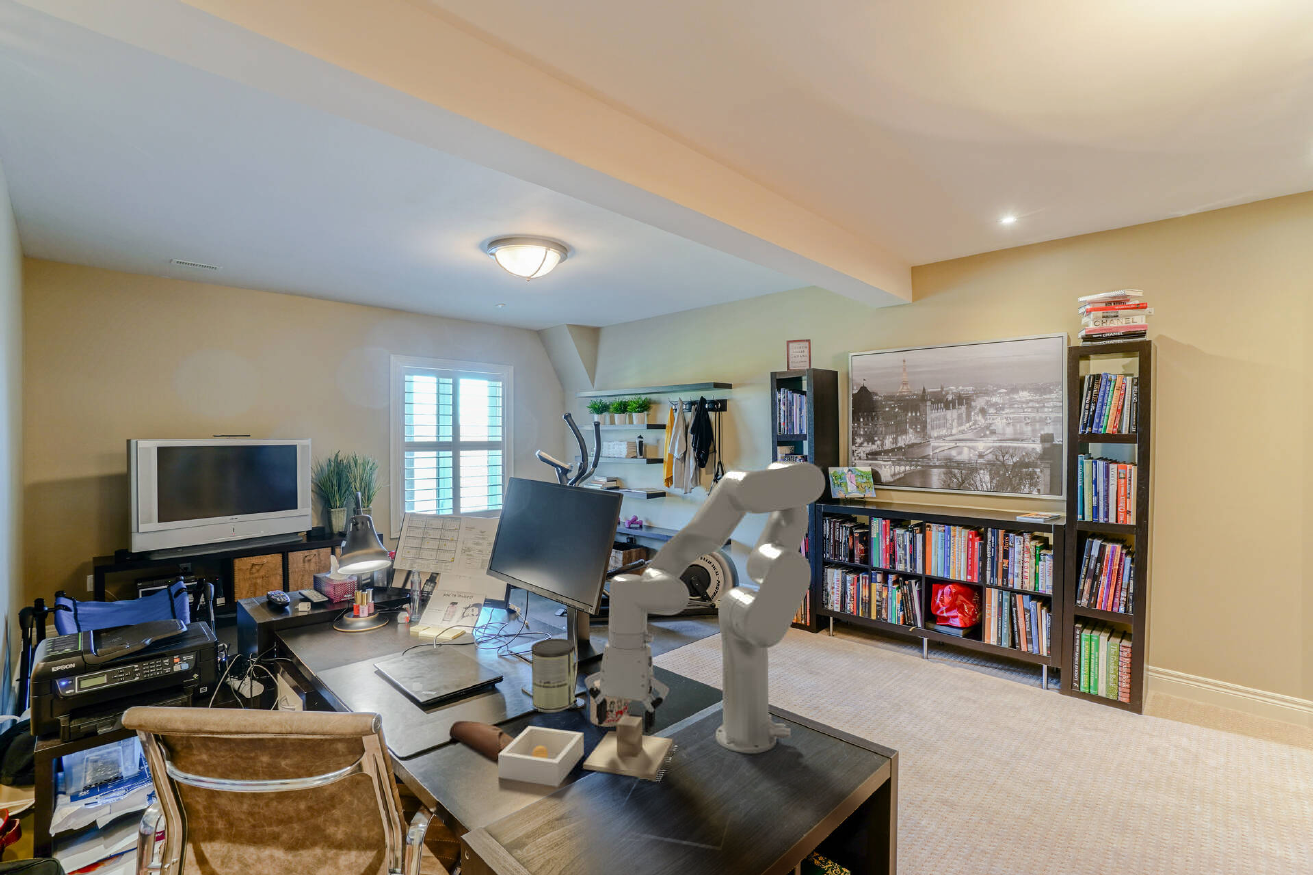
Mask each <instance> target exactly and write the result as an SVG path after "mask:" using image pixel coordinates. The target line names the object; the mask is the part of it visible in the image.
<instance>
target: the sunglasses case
mask: <svg viewBox="0 0 1313 875" xmlns="http://www.w3.org/2000/svg"><path fill="white" fill-rule="evenodd" d="M449 737H450V738H451V739H454V740H455V741H458V742H461V743H463V744H465V745H466V746H468V747H470V748H471V749H472V750H475V751H477V752H478V753H479V754H482V755H483V756H485V757H486V758H488V759H490V760H491V761H493V762H495V763H498V754H499V753H500V752H501V751H502V750H504V749H505V748H506V747H507V746H508V745H509V744H510V743H511V742H512V741H513V740H514V739H515V738H514V737H512V736H510V735H509V734H507V733H505V732H504V729H501V728H499V727H498V726H496V725H495V726H494V725H492V724H487V723H483V722H478V721H472V720H471V721H470V720H458V721H455V722H454V723H453V724H452V725H451V727H450V729H449Z"/></svg>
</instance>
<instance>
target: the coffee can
mask: <svg viewBox="0 0 1313 875" xmlns="http://www.w3.org/2000/svg"><path fill="white" fill-rule="evenodd" d="M575 645H576V644H575V642H573V640H570V639H566V638H548V639H543V640H539V641H537V642H535V643H533V644H532V645H531V647H530V648H531V649H530V650H531V661H532V662H531V669H532V670H531V671H532V672H531V673H532V676H531V677H532V680H531V681H532V682H531V683H532V686H531V689H532V704H533V706H534V707H535V708H537V709H538V711H537V712H541V713H543V714H544V713H547V714H549V713H550V714H552V713H560V712H563V711H565V710H566V709H569V708H571V707H572V706H573V705H574V704H575V703H574V701H575V702H576V697H575V696H576V694H575V693H576V690H575V689H576V687H575V685H576V684H575V682H576V681H575V647H576V646H575ZM533 706H532V707H533Z"/></svg>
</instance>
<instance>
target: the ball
mask: <svg viewBox="0 0 1313 875" xmlns="http://www.w3.org/2000/svg"><path fill="white" fill-rule="evenodd" d="M532 756H533V757H540V758H547V756H548V751H547V749H546V748H545V747H544V746H537V747H536V748H535V749H534V750H533V753H532Z"/></svg>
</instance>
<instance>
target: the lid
mask: <svg viewBox="0 0 1313 875" xmlns="http://www.w3.org/2000/svg"><path fill="white" fill-rule="evenodd" d="M601 739H602V740H600V742H599V743H598V744H597V746H596V747H595V748H594V750H593V751H592V752H591V753H590V755H589V756H588V757H587V758H586V760H585V761H584V762H583V764H582V769H583V770H589V771H597V772H604V773H611V774H617V775H623V776H624V775H625V776H632V777H637V778H640V779H639V780H642V779H648V780H647V781H649V780H651V781H650V782H655V781H654V780H655V778H656V776H657V774H658V772H659V770H660V768H661V766H662V764H663V763H664V761H665V759H666V757H667V755H668V753H669V751H670V750H671V748H672V746H673V745H674V738H665V737H661V736H660V737H659V736H651V735H643V717H641V716H631V715H629V716H625V715H623V716H622V718H621V719H620V720H619V722H618V723H617V726H616V731H613V730H611V731H610V730H609V731H608V732H607V733H606V734H605V735H604V737H603V738H601Z"/></svg>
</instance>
